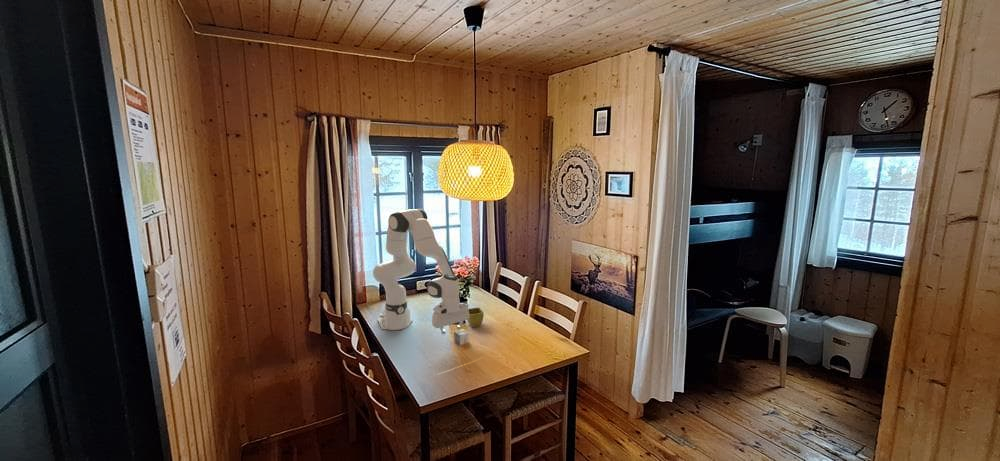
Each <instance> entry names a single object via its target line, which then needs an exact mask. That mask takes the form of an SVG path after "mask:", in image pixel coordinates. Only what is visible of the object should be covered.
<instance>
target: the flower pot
mask: <svg viewBox="0 0 1000 461" xmlns="http://www.w3.org/2000/svg"><path fill="white" fill-rule="evenodd" d="M468 310H469V319H468V320H466V321H467V323H468V325H469V326H470V328H476V327H477V328H478V327H480V326H481V325H482V323H483V321H484V315H485V314H484V313H485V312H484V311H483V310H482V309H481V307H478V306H477V307H473V308H468Z"/></svg>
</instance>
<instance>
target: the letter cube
mask: <svg viewBox="0 0 1000 461" xmlns="http://www.w3.org/2000/svg"><path fill="white" fill-rule="evenodd" d="M453 334H454V335H453V338H454V339H453V342H454V343H456V344H457V345H459V346H462V345H465V344H468V343H469V342H470V341H469V339H470V337H469V335H470V334H469V332H468V331H467V330H465V329H463V328H461V329H459V330H458V329H457V330H455V331H454V333H453Z"/></svg>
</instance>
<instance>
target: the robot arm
mask: <svg viewBox="0 0 1000 461" xmlns="http://www.w3.org/2000/svg"><path fill="white" fill-rule="evenodd" d="M387 223H388V224H387V231H386V239H385V240H386V242H385V250H386V253H388V254H389V255H391V256H392V257H393V259H392V260H388V261H384V262H381V263H378V264H376V265H375V266H374V268H373V270H372V276H373V278H374V279H375V280H376V281H377V282H378V283H380V284H381V285H382V286H383V287H384V292H385V299H386V301H385V306H384V309H382V310H381V314H379V317H378V318H377V323H379V326H380V328H381V330H389V331H390V330H391V331H398V330H403V329H406V328H408V327H410V325H411V323H413V322H414V320H413V318H411V313H410V308H409V307H408V301H407V290H406V288H405V286H404V285H402V284H400V283H399V282H398V279H402V278H406V277H408V276H410V275H412V274H414V273H415V271H416V267H417V266H416V262H415V261H414V260H413V259H412V258H411V257H410V256H409V254H408V250H407V247H408V244H407V243H408V232H409V233H410V234H411V235H412V239H413V242H414V247H415V249H416V252H417V253H418V254H419V255H421V256H423V257H427V258H430V259H433V260H434V261H436V263H437V264H438V265H437V266H438V267H439V269H440V272H441V274H442V276H440V277H436V278H434V279H431V280H429V281H428V283H427V284H426V291H427V293H428V295H429V296H430V297H432V298H434V299H441V302H440V303H439V304H436V305H435V306H434V307H433V308H432V310H433V313H432V317H431V323H432V324H431V325H432V327H433V328H435V329H439V330H440V332H441V335H446V330H445V329H444V327H447V326H450V325H454V324H457V323H458V325H456V327H457V331H458V330H462V326H463V324H464V321H467V320H468V319H469V310H468V309H469V304H468V303H467V302H462V303H460V302H461V301H460V297H459V296H460V282H459V278H458V276H457V275H456V274H455V272H454V270H453V268H452V266H451V264H450V261H449V259H448V256H447V254H446V251H445V250H444V248H443V247H442V246H440V245H439V242H438V241H437V239H436V236H435V232H434V229H433V227H432V226H431V223H430V221H429V220H428V214H427V213H426V211H425V210H424V209H422V208H413V209H412V208H410V209H405V210H401V211H395V212H392V213H391V214H390V215H389V217H388V222H387Z"/></svg>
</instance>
